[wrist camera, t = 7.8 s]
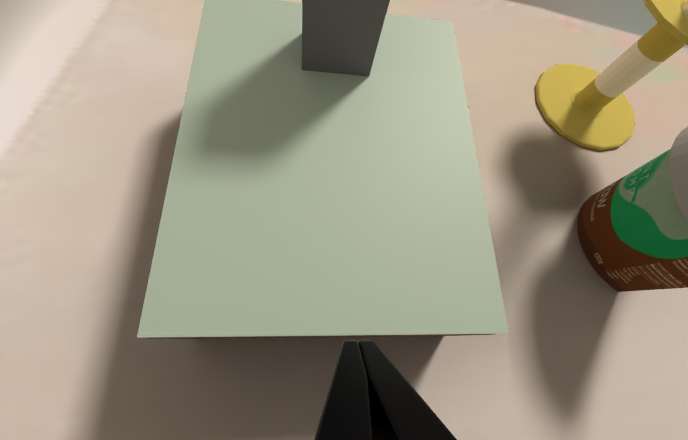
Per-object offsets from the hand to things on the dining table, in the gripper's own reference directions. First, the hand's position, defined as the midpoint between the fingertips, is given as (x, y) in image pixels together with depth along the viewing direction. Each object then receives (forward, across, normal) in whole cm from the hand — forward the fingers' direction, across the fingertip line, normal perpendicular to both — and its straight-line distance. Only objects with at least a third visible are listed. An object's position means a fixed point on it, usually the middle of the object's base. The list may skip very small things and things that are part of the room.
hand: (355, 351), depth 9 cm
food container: (+15, -23, +2) cm, 27 cm away
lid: (+11, 0, -4) cm, 12 cm away
